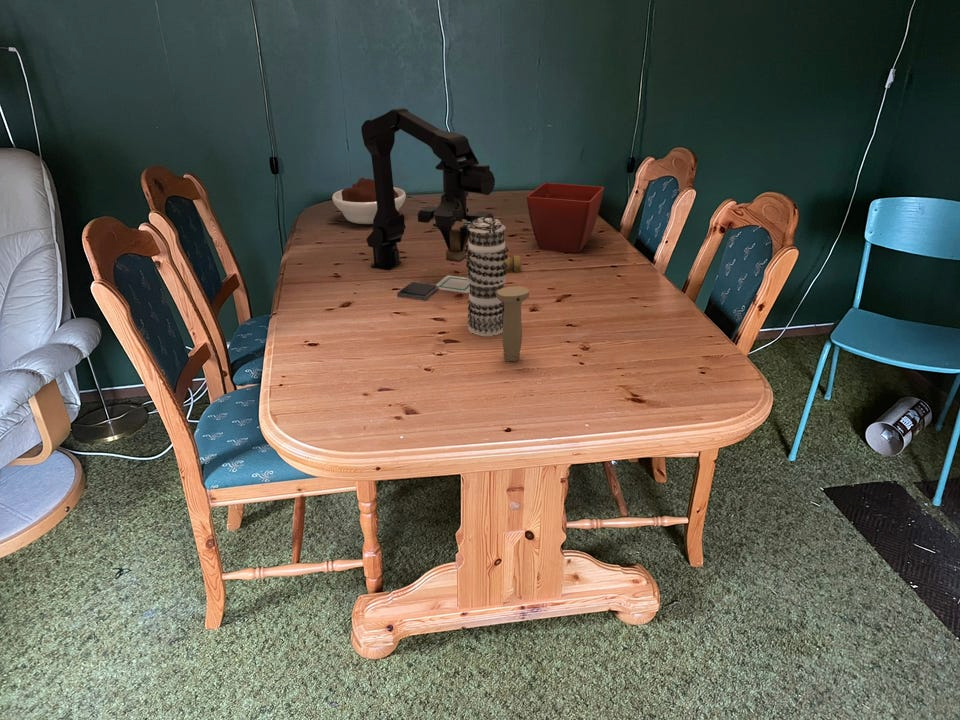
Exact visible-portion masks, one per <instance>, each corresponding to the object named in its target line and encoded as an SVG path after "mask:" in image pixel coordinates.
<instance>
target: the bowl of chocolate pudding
mask: <svg viewBox="0 0 960 720" xmlns="http://www.w3.org/2000/svg"><path fill="white" fill-rule="evenodd" d="M393 188H394V198H395V207H396V209H397V211H398V212H399V210H400V208H401V207H402V206H403V204H404V203H405V201H406V197H407V196H406V194H407V193H406V192H405V190H403V189H402V188H398V187H395V186H393ZM331 199H332V202H333V204H334V206H335V207H337V209H338V210H339V211H341V213H342V214H343V216H344V218H345V220H347V221H348V222H351V223H353V224H359V225H373V220H374V217H375V214H376V212H377V201H376V192H375V183H374V179H371V178H365V177H360V178H358V180H357V182H356V183H353V184H352V185H351V187H347V188H344V189H340V190H338V191H336V192H334V193H333V194H332V197H331Z"/></svg>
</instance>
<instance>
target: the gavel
mask: <svg viewBox="0 0 960 720" xmlns="http://www.w3.org/2000/svg"><path fill="white" fill-rule="evenodd" d="M503 262H505V263H506V264H507V267H506V268H505V269H504V270H506V271H507V272H510V271H512V272H513V273H520V272H521V271H522V259H521V255H512V257H510V256H508V258H507V259H505V261H504V260H503Z"/></svg>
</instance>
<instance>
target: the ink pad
mask: <svg viewBox="0 0 960 720" xmlns="http://www.w3.org/2000/svg"><path fill="white" fill-rule="evenodd" d="M438 291H439V286H436V284H428V283H421V282H416V281H411V282H409V283H408V284H407V285H406V286H405V287H403V288H402V289H400V290H399V291H398V292H397V293H396V294H397V295H396V296H397V298H406V299H410V300H411V299H412V300H419V301H425V302H426V301H428V300H429V299H430V298H431V297H432V296H434V295H435V293H437V292H438Z"/></svg>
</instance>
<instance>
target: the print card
mask: <svg viewBox="0 0 960 720" xmlns="http://www.w3.org/2000/svg"><path fill="white" fill-rule="evenodd" d="M435 285H436V286H439V290H441V291H446V292H454V293H460V294H468V295H469V291H470V283H469V282H468V277H462V276H455V275H447V274H446V276H445V277H443V278H442V279H441V280H440V281H439V282H437V283H436V284H435ZM439 290H438V291H439Z"/></svg>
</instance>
